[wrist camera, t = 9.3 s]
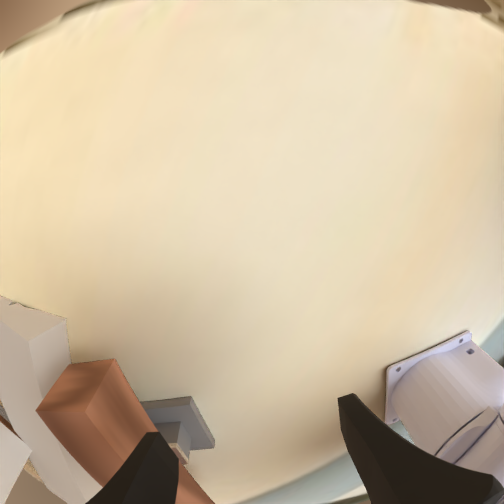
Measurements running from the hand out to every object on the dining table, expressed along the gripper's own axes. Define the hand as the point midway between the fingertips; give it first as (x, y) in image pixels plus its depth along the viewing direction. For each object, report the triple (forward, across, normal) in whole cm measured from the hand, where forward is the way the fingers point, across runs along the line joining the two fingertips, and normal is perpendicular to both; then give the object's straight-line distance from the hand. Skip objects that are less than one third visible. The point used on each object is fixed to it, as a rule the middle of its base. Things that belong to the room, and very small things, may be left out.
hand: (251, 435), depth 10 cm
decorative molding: (+11, +26, +10) cm, 30 cm away
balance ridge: (+10, +10, +9) cm, 17 cm away
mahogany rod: (+6, +10, +9) cm, 15 cm away
